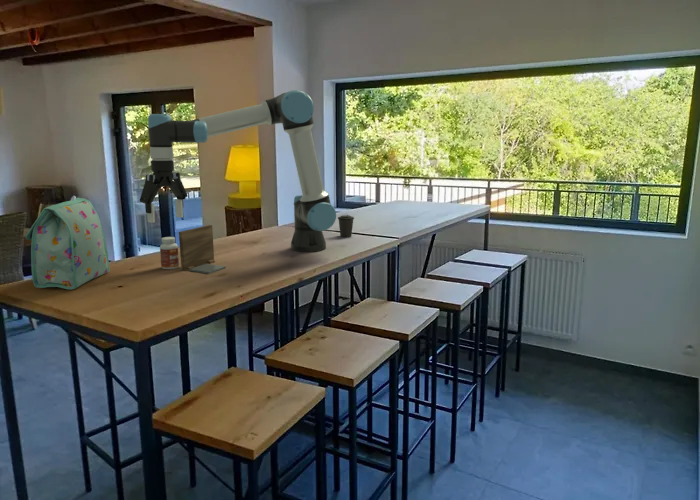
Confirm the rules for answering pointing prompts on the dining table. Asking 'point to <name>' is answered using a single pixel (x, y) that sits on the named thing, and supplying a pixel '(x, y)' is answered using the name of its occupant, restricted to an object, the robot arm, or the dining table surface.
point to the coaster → (207, 268)
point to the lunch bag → (67, 245)
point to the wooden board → (196, 247)
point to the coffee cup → (345, 225)
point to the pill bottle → (169, 253)
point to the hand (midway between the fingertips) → (166, 219)
